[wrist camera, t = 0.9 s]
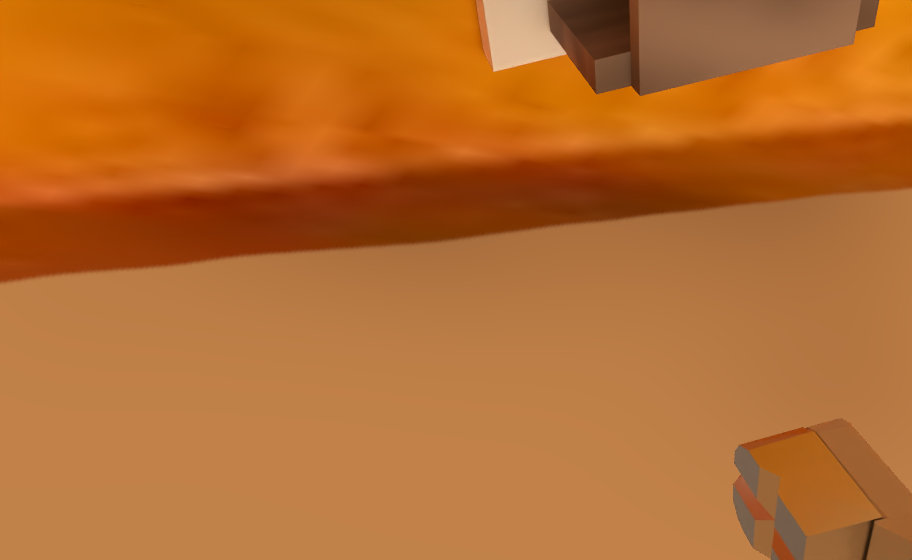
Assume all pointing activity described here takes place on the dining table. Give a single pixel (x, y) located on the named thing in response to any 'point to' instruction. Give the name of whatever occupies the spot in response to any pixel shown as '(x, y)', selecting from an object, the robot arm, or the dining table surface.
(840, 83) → the dining table surface
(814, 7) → the cover
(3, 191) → the dining table surface
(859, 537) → the robot arm
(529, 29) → the puzzle board
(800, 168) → the dining table surface
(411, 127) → the dining table surface
